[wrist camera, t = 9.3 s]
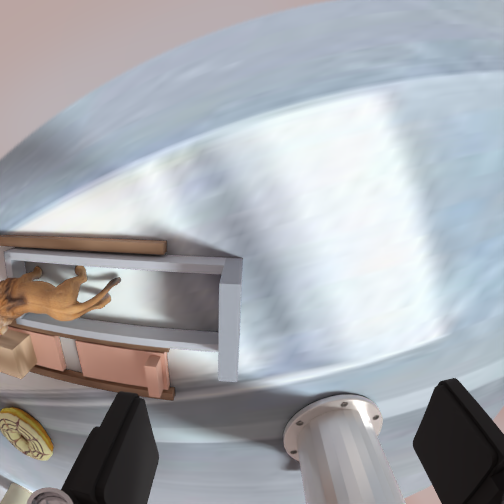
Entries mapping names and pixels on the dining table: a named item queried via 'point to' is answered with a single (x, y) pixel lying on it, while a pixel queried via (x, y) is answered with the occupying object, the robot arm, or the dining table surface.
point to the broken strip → (105, 361)
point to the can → (16, 495)
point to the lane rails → (78, 377)
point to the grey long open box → (145, 335)
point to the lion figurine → (47, 297)
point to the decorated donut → (25, 433)
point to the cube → (16, 353)
